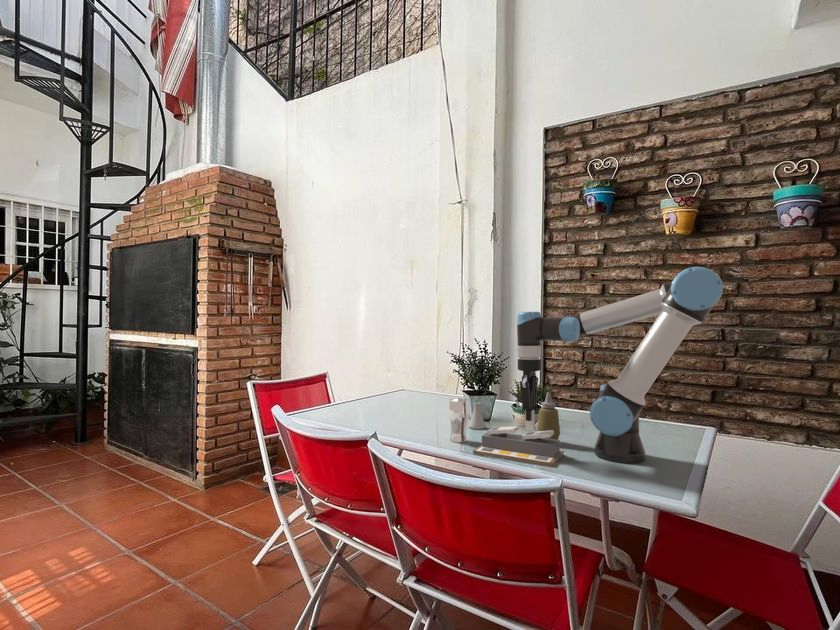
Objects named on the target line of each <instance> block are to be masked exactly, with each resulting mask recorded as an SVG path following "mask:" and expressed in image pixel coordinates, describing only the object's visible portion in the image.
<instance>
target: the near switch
mask: <svg viewBox="0 0 840 630" xmlns="http://www.w3.org/2000/svg"><path fill="white" fill-rule="evenodd" d="M553 434H554V431H553V430H550V431H537V430H536V431H528V432H525V433H524V434H521V435H522V438H523V439H535V438H549V437H551V436H552V435H553Z"/></svg>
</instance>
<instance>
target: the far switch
mask: <svg viewBox="0 0 840 630" xmlns="http://www.w3.org/2000/svg"><path fill="white" fill-rule="evenodd" d="M518 430H519V426H518V425H516V426H514V425H513V426H497V427H492V428H489V429H488V430H487V433H488V434H503V433H511V434H515V432H517V431H518Z"/></svg>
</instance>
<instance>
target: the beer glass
mask: <svg viewBox="0 0 840 630" xmlns="http://www.w3.org/2000/svg"><path fill="white" fill-rule="evenodd" d="M448 414H449V424H450V428H451V431H450V432H451V433H450V439H449V440H450V442H451V443H455V444H464V443H467V441H468V439H467V438H468V437H467V431H466V430H467V425H468V419H469V403H468V399H467V398H464V397H463V398H461V397H459V398H458V397H456V398H450V399H449V406H448Z"/></svg>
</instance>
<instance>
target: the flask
mask: <svg viewBox="0 0 840 630" xmlns="http://www.w3.org/2000/svg"><path fill="white" fill-rule="evenodd" d="M481 406H482V402H473V412H472V415H471V418H470V421H469V424H468V428H469V429H472V430H482V429H483V430H484V429H486V428H487V426H486V423H485V419H484V418H483V414H482V410H481Z"/></svg>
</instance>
